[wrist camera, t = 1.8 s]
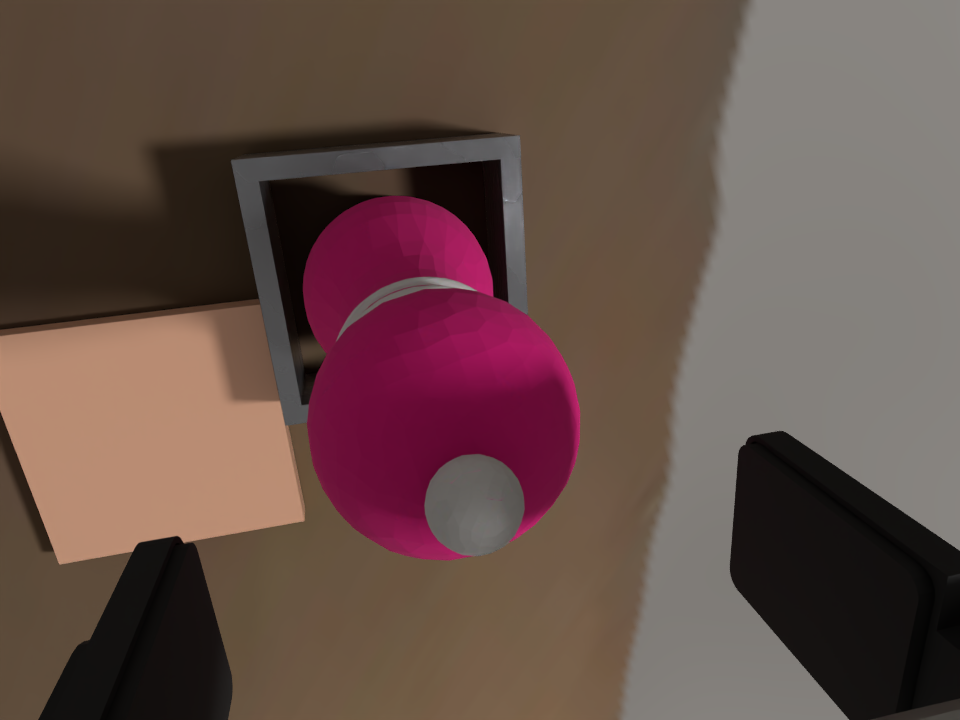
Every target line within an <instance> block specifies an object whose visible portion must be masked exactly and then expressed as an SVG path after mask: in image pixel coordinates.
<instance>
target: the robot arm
mask: <svg viewBox="0 0 960 720" xmlns="http://www.w3.org/2000/svg"><path fill="white" fill-rule="evenodd" d="M730 573H731V577H732V581H733V583H734V585H735V587H736V588H737V590H738V591H739V592H740V593H741V594H742V595H743V597H744V598H745V599H746V600H747V601H748V603H750V605H751V606H752V607H753V608H754V609H755V611H756V612H757V613H758V614H759V615H760V616H761V618H762V619H763V620H764V621H765V622H766V623H767V624H768V626H769V627H770V628H771V629H772V630H773V632H774V633H775V634H776V635H777V636H778V637H779V638H780V640H781V641H782V642H783V643H784V644H785V646H786V647H787V648H788V649H789V650H790V651H791V652H792V654H793V655H794V656H795V657H796V658H797V659H798V660H799V662H800V663H801V664H802V665H803V666H804V668H805V669H806V670H807V671H808V672H809V673H810V675H811V676H812V677H813V678H814V679H815V680H816V681H817V682H818V684H819V685H820V686H821V687H822V688H823V690H824V691H825V692H826V693H827V694H828V695H829V697H830V698H831V699H832V700H833V701H834V702H835V704H836V705H837V706H838V707H839V708H840V709H841V711H842V712H843V713H844V714H845V715H846V716H847V717H848V719H849V720H960V551H959V550H958V549H956V548H955V547H953V546H952V545H950V544H949V543H947V542H946V541H945V540H943V539H942V538H940V537H939V536H937V535H936V534H934V533H933V532H931V531H930V530H928V529H927V528H926V527H924V526H923V525H921V524H920V523H918V522H917V521H915V520H914V519H912V518H911V517H909V516H908V515H906V514H905V513H904V512H902V511H901V510H899V509H898V508H896V507H895V506H893V505H892V504H890V503H889V502H887V501H886V500H884V499H883V498H881V497H880V496H879V495H877V494H876V493H874V492H873V491H871V490H870V489H868V488H867V487H865V486H864V485H862V484H861V483H860V482H858V481H857V480H855V479H854V478H852V477H851V476H849V475H848V474H846V473H845V472H843V471H842V470H840V469H839V468H838V467H836V466H835V465H833V464H832V463H830V462H829V461H827V460H826V459H824V458H823V457H821V456H820V455H819V454H817V453H815V452H814V451H813V450H811V449H810V448H808V447H807V446H805V445H804V444H802V443H801V442H799V441H798V440H796V439H795V438H794V437H792V436H791V435H789V434H788V433H786V432H783V431H777V432H771V433H765V434H760V435H754V436H751V437H749V438H748V440H747V442H746V445H743V446H742V447H741V448H740V450H739V454H738V466H737V480H736V492H735V506H734V519H733V532H732V546H731V559H730ZM231 700H232V675H231V671H230V667H229V663H228V660H227V656H226V653H225V649H224V645H223V642H222V638H221V634H220V631H219V627H218V623H217V620H216V616H215V613H214V609H213V605H212V602H211V598H210V594H209V591H208V587H207V583H206V580H205V576H204V573H203V569H202V565H201V562H200V558H199V554H198V551H197V548H196V546H195V544H194V543H187V544H184V543H183V541H182V539H181V538H180V537H179V536H173V537H167V538H161V539H156V540H150V541H144V542H140V543H138V544H137V545H136V547H135V549H134V551H133V553H132V555H131V557H130V559H129V561H128V563H127V565H126V567H125V569H124V571H123V573H122V575H121V577H120V579H119V581H118V583H117V586H116V588H115V590H114V592H113V594H112V596H111V598H110V600H109V602H108V604H107V606H106V608H105V610H104V612H103V614H102V616H101V618H100V620H99V622H98V624H97V627H96V629H95V631H94V633H93V635H92V637H91V639H90V640H88V641H84V642H82V643H81V644H79V645H78V646H77V647H76V649H75V650H74V652H73V653H72V655H71V657H70V659H69V661H68V663H67V664H66V666H65V668H64V670H63V672H62V674H61V676H60V678H59V680H58V682H57V684H56V686H55V688H54V690H53V692H52V694H51V696H50V698H49V700H48V702H47V704H46V706H45V708H44V710H43V712H42V714H41V715H40V717H39V719H38V720H228V716H229V711H230V705H231Z"/></svg>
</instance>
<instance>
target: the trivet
mask: <svg viewBox="0 0 960 720" xmlns="http://www.w3.org/2000/svg"><path fill="white" fill-rule="evenodd" d="M0 412H1V414H2V417H3V419H4V422H5V425H6V427H7V430H8V432H9V435H10V438H11V440H12V443H13V445H14V448H15V450H16V453H17V456H18V458H19V461H20V463H21V466H22V469H23V471H24V474H25V476H26V479H27V482H28V484H29V487H30V489H31V492H32V495H33V497H34V500H35V502H36V505H37V507H38V510H39V513H40V515H41V518H42V520H43V523H44V526H45V528H46V531H47V533H48V536H49V539H50V541H51V544H52V546H53V549H54V552H55V554H56V557H57V559H58V562H59V564H64V563H70V562H76V561H81V560H87V559H93V558H98V557H104V556H110V555H115V554H121V553H127V552H132V551H134V549H135V547H136V545H137V544H138V543H140V542H144V541H150V540H156V539H161V538H167V537H173V536H179V537H180V538H181V539H182V541H183V542H189V541H194V540H200V539H206V538H211V537H217V536H223V535H228V534H234V533H239V532H245V531H251V530H256V529H262V528H268V527H273V526H279V525H285V524H290V523H296V522H302V521H304V520H305V505H304V501H303V496H302V491H301V486H300V481H299V476H298V471H297V466H296V461H295V456H294V451H293V446H292V441H291V436H290V432H289V427H288V425H287V426H285V422H284V417H283V412H282V407H281V402H280V398H279V393H278V388H277V383H276V378H275V373H274V368H273V363H272V359H271V354H270V349H269V344H268V339H267V334H266V329H265V324H264V320H263V315H262V310H261V305H260V300H259V299H252V300H244V301H236V302H227V303H219V304H211V305H202V306H194V307H186V308H177V309H169V310H161V311H152V312H144V313H136V314H127V315H119V316H111V317H102V318H94V319H86V320H78V321H69V322H61V323H53V324H44V325H36V326H28V327H19V328H11V329H3V330H0Z"/></svg>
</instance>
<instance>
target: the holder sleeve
mask: <svg viewBox="0 0 960 720" xmlns="http://www.w3.org/2000/svg"><path fill="white" fill-rule="evenodd" d="M475 161H482V165H483V180H484V195H485V210H486V225H487V241H488V256H489V269H490V272H491V276H492V280H493V297H495V298H498V299H501V300H503V301H506V302H508V303H509V304H511V305H512V306H514V307H515V308H517V309H519V310H520V311H522V312H523V313H525V314H526V315H528V308H527V286H526V264H525V241H524V219H523V196H522V174H521V151H520V135H512V134H504V133H490V134H478V135H466V136H455V137H443V138H431V139H419V140H407V141H395V142H383V143H371V144H360V145H348V146H336V147H324V148H312V149H300V150H288V151H276V152H265V153H253V154H243V155H241V156H239V157H237V158H234V159H232V160H231V163H232V168H233V173H234V178H235V183H236V188H237V193H238V198H239V202H240V207H241V212H242V217H243V222H244V227H245V232H246V237H247V241H248V246H249V251H250V256H251V261H252V266H253V271H254V276H255V281H256V285H257V290H258V295H259V300H260V305H261V310H262V315H263V320H264V324H265V329H266V334H267V339H268V344H269V349H270V354H271V359H272V363H273V368H274V373H275V378H276V383H277V388H278V393H279V398H280V402H281V407H282V412H283V417H284V422H285V426H287V425H293V424H300V423H306V422H307V418H308V408H309V401H310V397H311V394H312V390H313V386H314V382H315V379H316V375H317V373H318V372H316V373H309V374H305V370H304V365H303V359H302V354H301V348H300V343H299V338H298V332H297V327H296V322H295V316H294V311H293V305H292V300H291V295H290V289H289V284H288V278H287V273H286V268H285V262H284V257H283V252H282V246H281V241H280V235H279V230H278V225H277V219H276V214H275V208H274V203H273V198H272V192H271V187H270V182H269V180H278V179H289V178H300V177H311V176H322V175H333V174H344V173H355V172H366V171H377V170H387V169H398V168H409V167H420V166H431V165H442V164H453V163H464V162H475Z"/></svg>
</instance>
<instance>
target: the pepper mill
mask: <svg viewBox="0 0 960 720" xmlns="http://www.w3.org/2000/svg"><path fill="white" fill-rule="evenodd" d="M303 296H304V304H305V310H306V314H307V318H308V322H309V324H310V327H311V329H312V331H313V334H314V336H315V338H316V339H317V341H318V342H319V344H320V345H321V347H322V348H323V350H324V351H325V352H326V353H327V355H326V357H325V359H324V361H323V363H322V365H321V367H320V369H319V371H318V373H317V375H316V379H315V382H314V386H313V390H312V394H311V397H310V401H309V408H308V418H307V427H308V436H309V443H310V450H311V456H312V461H313V466H314V469H315V471H316V474H317V476H318V478H319V481H320V483H321V486H322V488H323V490H324V491H325V493H326V494H327V496H328V498H329V499H330V501H331V502H332V504H333V505H334V507H335V508H336V510H337V511H338V512H339V513H340V514H341V516H342V517H343V518H344V519H345V520H346V521H347V522H348V523H349V524H350V525H351V526H352V527H353V528H354V529H355V530H357V531H358V532H360V533H361V534H363V535H364V536H366V537H367V538H369V539H371V540H372V541H374V542H376V543H377V544H379V545H381V546H383V547H384V548H386V549H388V550H389V551H392V552H395V553H399V554H402V555H405V556H409V557H415V558H420V559H431V560H454V559H460V558H465V557H471V556H481V555H486V554H490V553H492V552H495V551H497V550H499V549H500V548H502V547H504V546H505V545H507V544H508V543H509V542H511V541H513V540H515V539H516V538H518V537H519V536H520V535H522V534H523V533H524V532H526V531H527V530H528V529H530V528H531V527H533V526H534V525H535V524H536V523H537V522H538V521H539V520H540V519H541V517H542V516H543V515H544V514H545V513H546V512H547V511H548V510H549V509H550V507H551V506H552V505H553V504H554V502H555V501H556V499H557V498H558V496H559V495H560V493H561V492H562V490H563V489H564V487H565V486H566V484H567V482H568V480H569V477H570V475H571V472H572V470H573V467H574V465H575V461H576V456H577V452H578V447H579V438H580V409H579V404H578V399H577V394H576V389H575V385H574V382H573V379H572V376H571V374H570V372H569V369H568V367H567V365H566V363H565V361H564V359H563V357H562V355H561V354H560V352H559V351H558V349H557V348H556V346H555V345H554V343H553V342H552V340H551V339H550V338H549V336H548V335H547V334H546V333H545V332H544V331H543V330H542V329H541V328H540V327H539V326H538V325H537V324H536V323H535V322H534V321H533V320H532V319H531V318H530V317H529V316H528V315H526V314H525V313H523V312H522V311H520V310H519V309H517V308H515V307H514V306H512V305H511V304H509V303H508V302H506V301H503V300H501V299H498V298H495V297H493V280H492V276H491V272H490V269H489V265H488V262H487V258H486V256H485V254H484V253H483V251H482V249H481V247H480V245H479V243H478V241H477V240H476V238H475V236H474V235H473V234H472V232H471V231H470V230H469V229H468V227H467V226H466V225H465V224H464V223H463V222H462V221H461V220H459V219H458V218H457V217H456V216H455V215H454V214H452V213H451V212H449V211H447V210H446V209H444V208H443V207H441V206H439V205H436V204H434V203H432V202H430V201H426V200H422V199H418V198H414V197H409V196H386V197H378V198H373V199H370V200H367V201H364V202H361V203H359V204H357V205H355V206H353V207H351V208H349V209H347V210H346V211H344V212H343V213H341V214H340V215H339V216H338V217H336V218H335V219H334V220H333V221H332V222H331V223H330V224H328V226H327V227H326V228H325V229H324V231H323V232H322V233H321V234H320V235H319V237H318V239H317V240H316V242H315V244H314V245H313V247H312V249H311V252H310V254H309V257H308V259H307V262H306V267H305V271H304V276H303Z"/></svg>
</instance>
